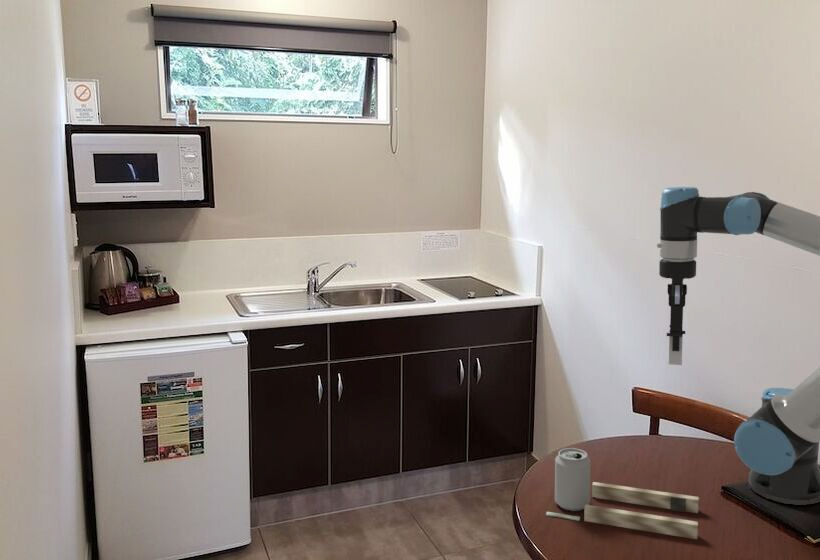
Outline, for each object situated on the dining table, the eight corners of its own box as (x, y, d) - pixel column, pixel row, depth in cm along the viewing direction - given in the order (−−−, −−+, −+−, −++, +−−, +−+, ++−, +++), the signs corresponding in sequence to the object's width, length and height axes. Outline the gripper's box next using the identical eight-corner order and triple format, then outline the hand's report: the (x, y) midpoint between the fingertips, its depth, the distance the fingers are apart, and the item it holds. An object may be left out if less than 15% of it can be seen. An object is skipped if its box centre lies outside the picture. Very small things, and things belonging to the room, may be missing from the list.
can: (590, 514, 155) (591, 461, 153) (554, 511, 157) (554, 459, 154) (589, 497, 162) (590, 447, 160) (555, 495, 164) (555, 444, 162)
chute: (698, 509, 156) (698, 496, 155) (697, 540, 144) (697, 526, 143) (557, 488, 167) (557, 476, 166) (545, 515, 155) (545, 502, 154)
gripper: (660, 254, 165) (657, 354, 169) (659, 263, 153) (656, 371, 157) (695, 254, 163) (692, 356, 167) (697, 263, 151) (694, 373, 155)
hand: (675, 363), depth 162 cm, fingers closed
